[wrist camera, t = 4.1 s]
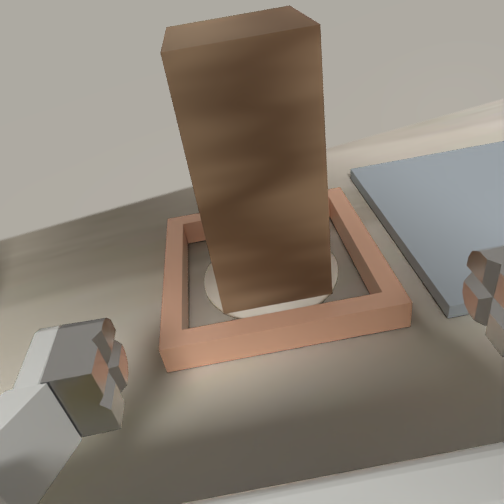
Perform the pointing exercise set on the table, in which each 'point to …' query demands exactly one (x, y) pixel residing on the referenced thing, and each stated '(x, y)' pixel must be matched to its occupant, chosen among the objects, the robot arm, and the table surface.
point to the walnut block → (255, 151)
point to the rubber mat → (440, 212)
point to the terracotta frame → (279, 315)
